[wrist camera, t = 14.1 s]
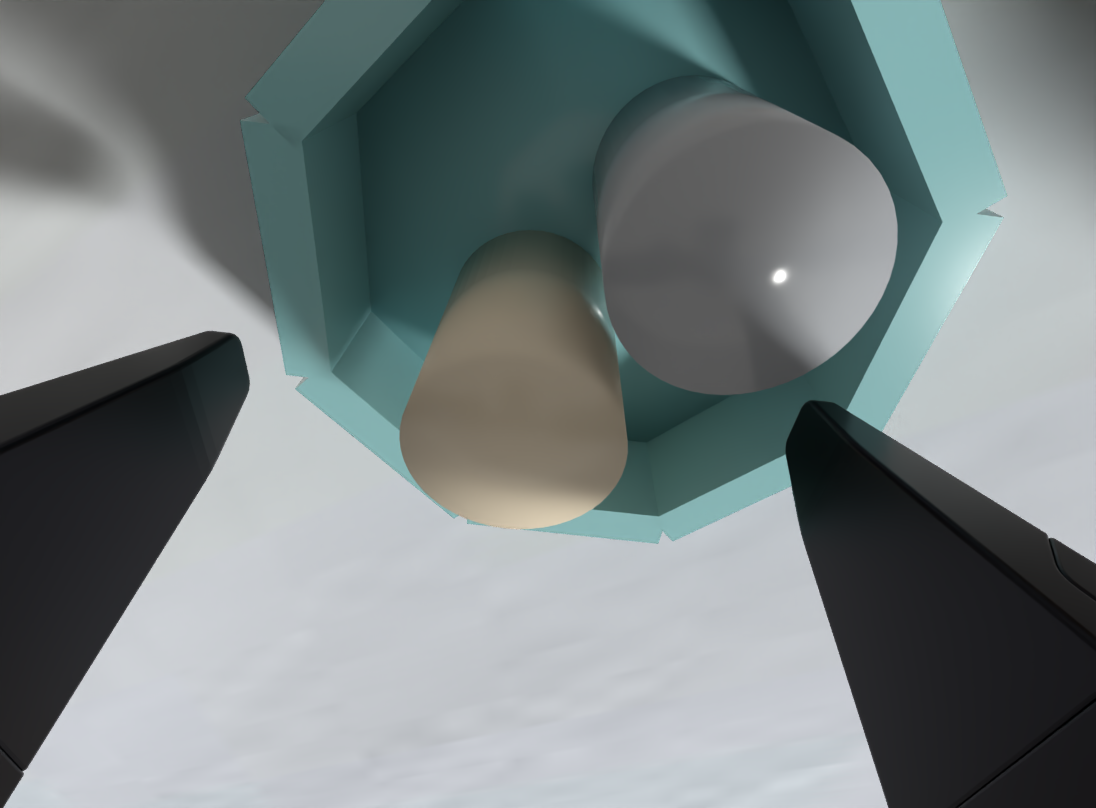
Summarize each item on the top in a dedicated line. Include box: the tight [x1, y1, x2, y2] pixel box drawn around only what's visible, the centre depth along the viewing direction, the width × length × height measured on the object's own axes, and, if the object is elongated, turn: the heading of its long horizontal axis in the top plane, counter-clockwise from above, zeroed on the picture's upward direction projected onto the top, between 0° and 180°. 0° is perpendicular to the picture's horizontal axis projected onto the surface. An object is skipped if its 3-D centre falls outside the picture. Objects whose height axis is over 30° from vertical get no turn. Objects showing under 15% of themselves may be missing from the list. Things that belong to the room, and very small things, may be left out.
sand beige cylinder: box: [399, 230, 628, 529], centre depth 10 cm, size 3×3×4 cm
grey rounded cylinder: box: [592, 75, 897, 395], centre depth 8 cm, size 3×3×4 cm
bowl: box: [240, 0, 1007, 544], centre depth 10 cm, size 11×11×3 cm
